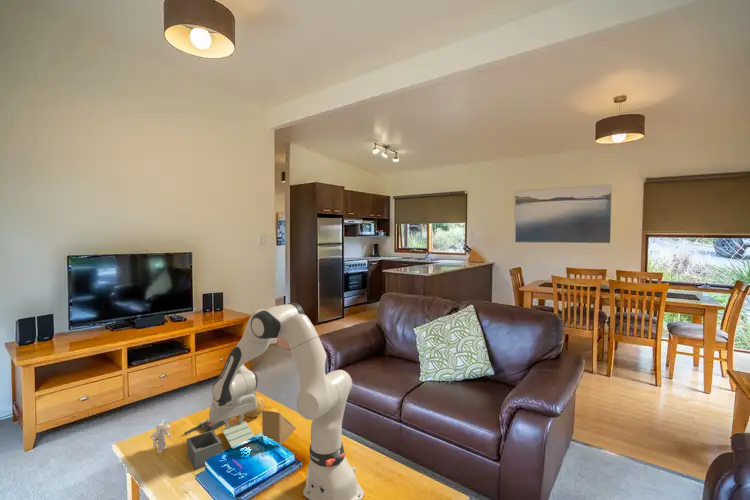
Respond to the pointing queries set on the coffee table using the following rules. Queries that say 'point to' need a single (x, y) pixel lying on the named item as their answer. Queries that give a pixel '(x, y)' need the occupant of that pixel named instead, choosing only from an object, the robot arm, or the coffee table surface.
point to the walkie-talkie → (207, 425)
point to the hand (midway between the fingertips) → (234, 425)
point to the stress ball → (257, 408)
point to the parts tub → (203, 448)
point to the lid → (237, 432)
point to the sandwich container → (276, 426)
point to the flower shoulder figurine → (160, 436)
